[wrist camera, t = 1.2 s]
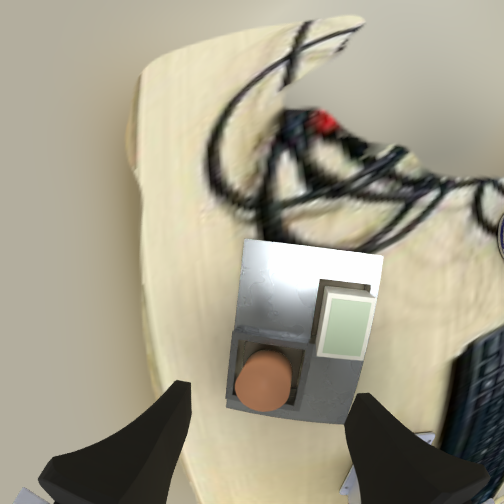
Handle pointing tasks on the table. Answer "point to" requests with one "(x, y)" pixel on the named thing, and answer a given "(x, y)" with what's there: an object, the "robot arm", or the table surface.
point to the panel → (297, 323)
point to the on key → (344, 323)
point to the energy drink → (501, 236)
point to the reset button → (264, 381)
